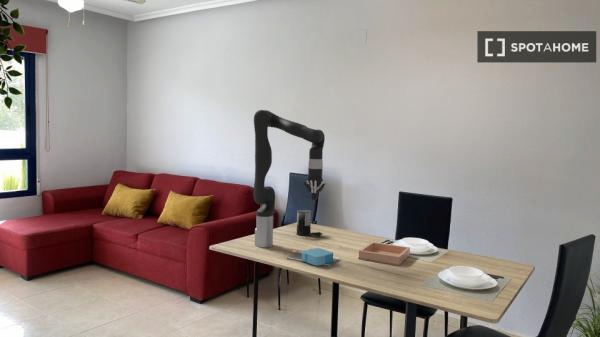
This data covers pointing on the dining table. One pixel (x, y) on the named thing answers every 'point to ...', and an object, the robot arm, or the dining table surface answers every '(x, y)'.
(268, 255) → the dining table surface
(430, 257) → the dining table surface
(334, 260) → the mat
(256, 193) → the robot arm
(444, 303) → the dining table surface
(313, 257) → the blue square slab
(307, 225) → the milk frother
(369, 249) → the planter saucer
